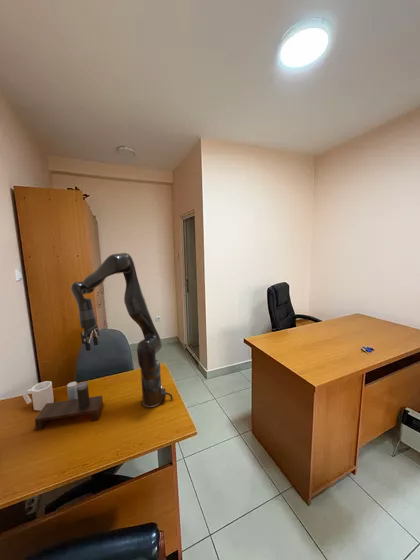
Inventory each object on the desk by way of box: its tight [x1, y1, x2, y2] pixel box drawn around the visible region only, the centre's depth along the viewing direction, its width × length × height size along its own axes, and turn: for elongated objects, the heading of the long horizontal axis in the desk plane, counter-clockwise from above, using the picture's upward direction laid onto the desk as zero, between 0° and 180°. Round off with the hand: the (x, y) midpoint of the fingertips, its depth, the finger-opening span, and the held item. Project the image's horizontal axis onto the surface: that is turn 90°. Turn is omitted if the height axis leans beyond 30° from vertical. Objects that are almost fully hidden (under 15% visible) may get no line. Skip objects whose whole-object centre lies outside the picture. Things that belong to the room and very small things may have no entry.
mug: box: [22, 380, 55, 412], centre depth 109 cm, size 12×9×10 cm
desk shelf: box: [34, 395, 104, 431], centre depth 102 cm, size 24×10×5 cm, turn 102°
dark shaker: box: [77, 381, 90, 408], centre depth 102 cm, size 4×4×10 cm
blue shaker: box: [66, 381, 78, 401], centre depth 111 cm, size 4×4×10 cm
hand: (92, 347), depth 121 cm, fingers open, 8 cm apart
